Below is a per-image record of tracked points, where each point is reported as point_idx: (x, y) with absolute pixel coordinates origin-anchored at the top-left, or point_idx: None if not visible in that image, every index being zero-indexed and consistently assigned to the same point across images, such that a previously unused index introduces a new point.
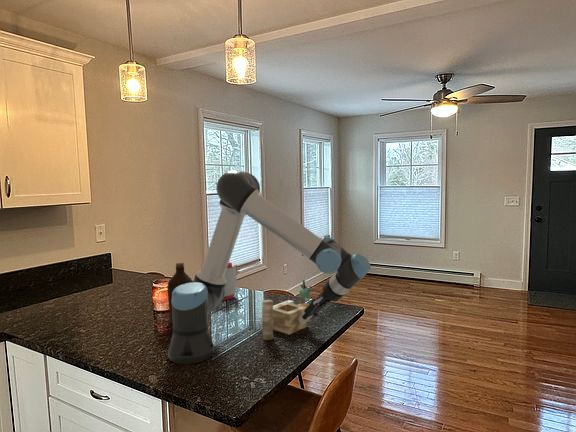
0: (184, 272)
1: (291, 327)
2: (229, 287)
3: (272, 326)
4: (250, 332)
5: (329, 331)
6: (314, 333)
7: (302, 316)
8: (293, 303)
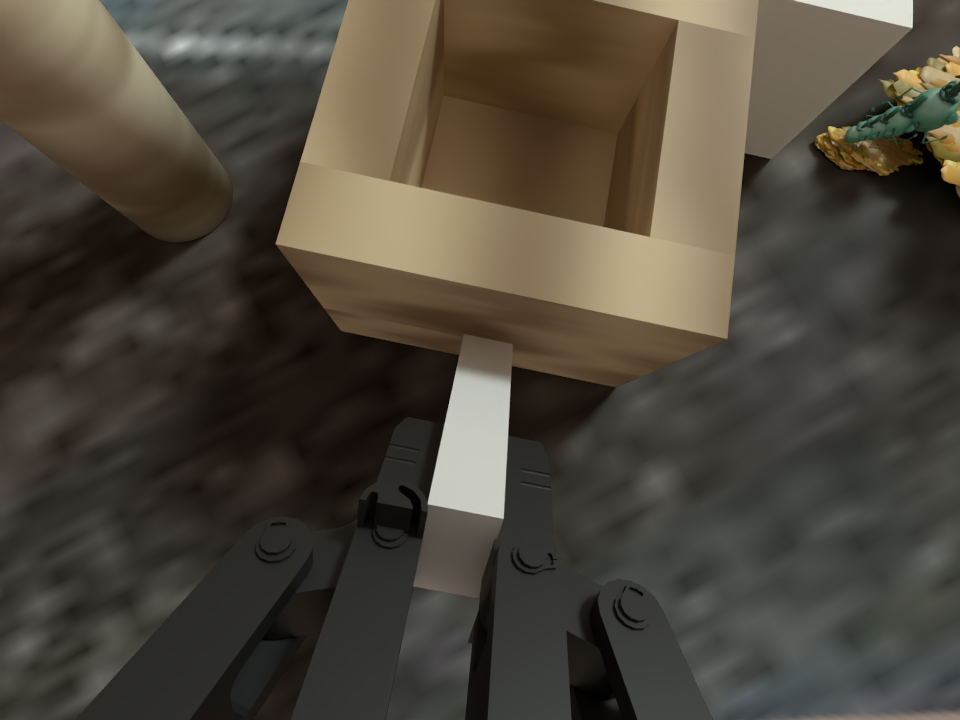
0: None
1: (366, 321)
2: None
3: (103, 176)
4: (234, 10)
5: None
6: None
7: (394, 432)
8: (876, 51)
